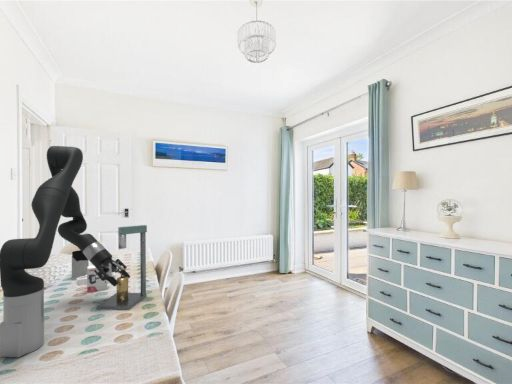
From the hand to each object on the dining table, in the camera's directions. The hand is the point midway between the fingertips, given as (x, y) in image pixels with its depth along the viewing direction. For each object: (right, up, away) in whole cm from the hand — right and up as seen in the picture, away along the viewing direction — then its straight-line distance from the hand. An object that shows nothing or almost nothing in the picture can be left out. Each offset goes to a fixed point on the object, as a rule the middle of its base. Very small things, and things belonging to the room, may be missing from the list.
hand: (122, 281), depth 112 cm
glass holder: (-40, -10, +37) cm, 55 cm away
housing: (0, -8, 0) cm, 8 cm away
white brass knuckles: (-29, -10, +30) cm, 43 cm away
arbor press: (0, -9, 0) cm, 9 cm away
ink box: (-21, -10, +16) cm, 28 cm away
